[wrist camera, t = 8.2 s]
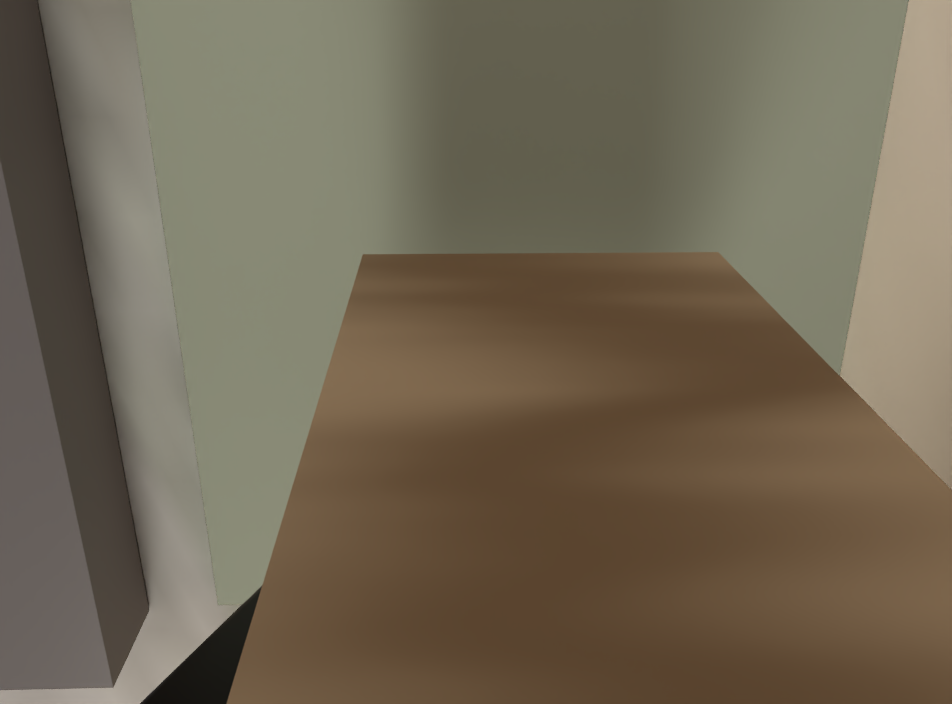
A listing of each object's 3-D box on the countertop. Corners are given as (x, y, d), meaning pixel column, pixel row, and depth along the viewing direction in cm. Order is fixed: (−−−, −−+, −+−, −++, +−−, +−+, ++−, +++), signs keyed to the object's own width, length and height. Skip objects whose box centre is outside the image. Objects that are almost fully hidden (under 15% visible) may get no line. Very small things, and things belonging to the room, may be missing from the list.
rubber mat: (898, -39, 13) (916, -39, 12) (790, 577, 17) (799, 593, 17) (137, -40, 12) (124, -40, 12) (224, 587, 17) (218, 605, 16)
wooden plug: (718, 252, 11) (1579, 1129, 3) (683, 547, 13) (1135, 1634, 4) (362, 254, 11) (79, 1184, 2) (377, 551, 12) (241, 1681, 4)
